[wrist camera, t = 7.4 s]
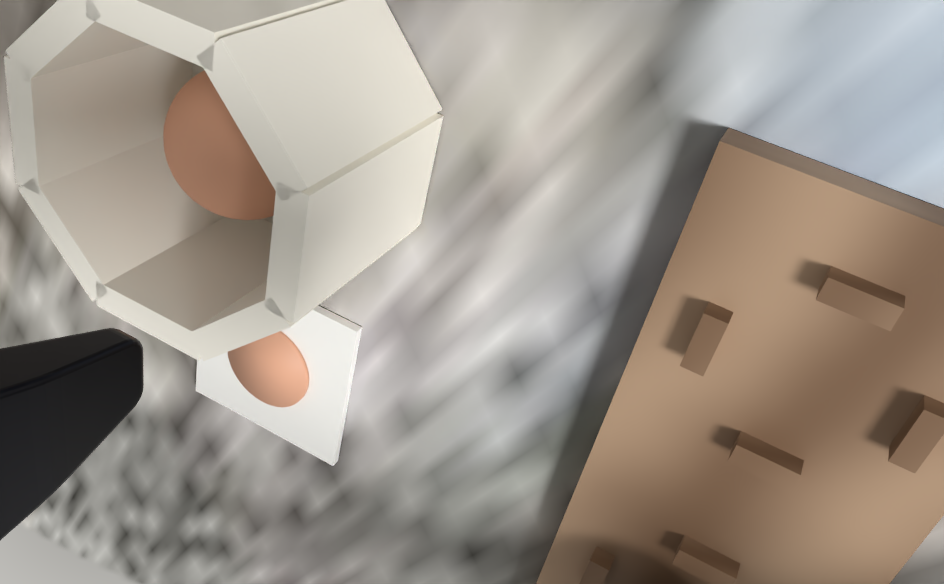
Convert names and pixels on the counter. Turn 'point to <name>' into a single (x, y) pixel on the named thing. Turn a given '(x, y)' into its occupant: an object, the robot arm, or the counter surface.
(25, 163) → the cup
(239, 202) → the ball terracotta
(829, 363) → the stand
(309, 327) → the tile
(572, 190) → the counter surface
